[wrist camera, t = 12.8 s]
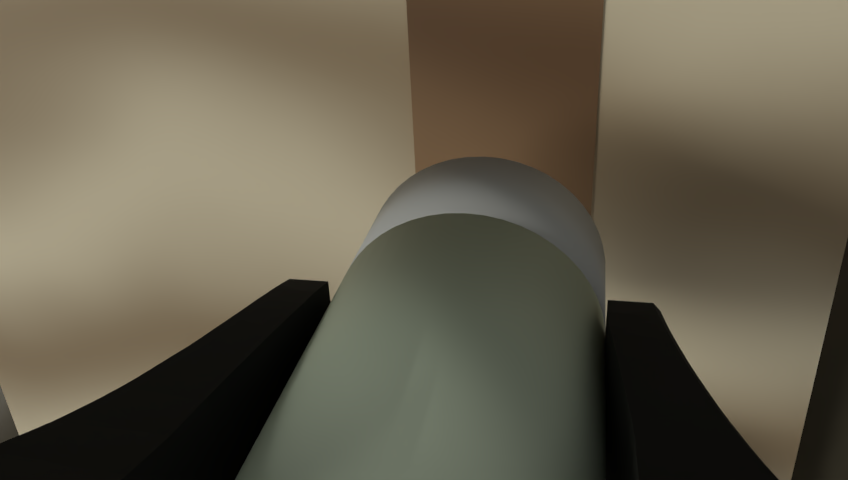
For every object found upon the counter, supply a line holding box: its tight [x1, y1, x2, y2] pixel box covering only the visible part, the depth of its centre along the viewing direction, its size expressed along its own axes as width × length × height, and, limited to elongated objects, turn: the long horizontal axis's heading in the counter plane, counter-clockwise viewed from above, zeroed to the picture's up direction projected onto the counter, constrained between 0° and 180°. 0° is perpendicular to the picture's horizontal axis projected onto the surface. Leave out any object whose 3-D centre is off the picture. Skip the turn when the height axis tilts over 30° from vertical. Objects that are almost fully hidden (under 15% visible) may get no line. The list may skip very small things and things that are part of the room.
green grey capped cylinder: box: [235, 156, 606, 480], centre depth 11 cm, size 4×4×7 cm
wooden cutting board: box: [0, 0, 848, 480], centre depth 20 cm, size 18×20×2 cm
